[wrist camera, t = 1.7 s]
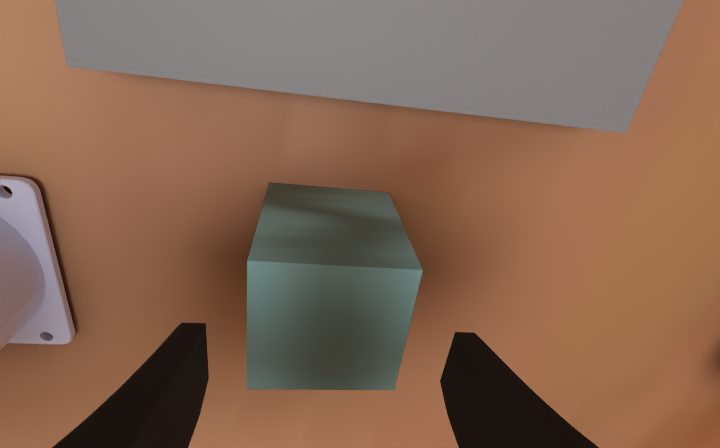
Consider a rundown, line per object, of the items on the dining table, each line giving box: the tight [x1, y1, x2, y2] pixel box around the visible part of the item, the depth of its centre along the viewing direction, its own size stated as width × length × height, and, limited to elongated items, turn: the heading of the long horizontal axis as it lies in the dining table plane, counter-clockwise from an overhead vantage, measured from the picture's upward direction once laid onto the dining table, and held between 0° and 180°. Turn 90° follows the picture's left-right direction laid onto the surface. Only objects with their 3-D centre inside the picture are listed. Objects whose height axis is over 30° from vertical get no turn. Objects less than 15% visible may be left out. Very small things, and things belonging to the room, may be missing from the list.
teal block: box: [247, 183, 423, 390], centre depth 15 cm, size 5×5×6 cm
